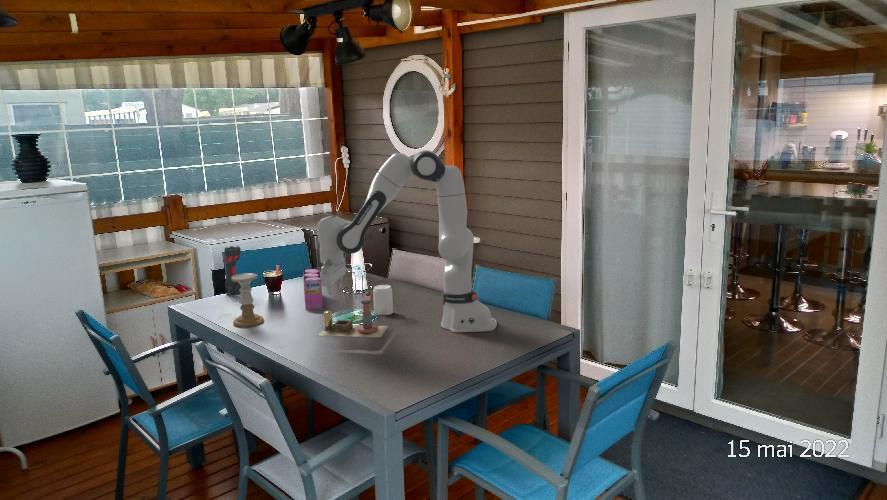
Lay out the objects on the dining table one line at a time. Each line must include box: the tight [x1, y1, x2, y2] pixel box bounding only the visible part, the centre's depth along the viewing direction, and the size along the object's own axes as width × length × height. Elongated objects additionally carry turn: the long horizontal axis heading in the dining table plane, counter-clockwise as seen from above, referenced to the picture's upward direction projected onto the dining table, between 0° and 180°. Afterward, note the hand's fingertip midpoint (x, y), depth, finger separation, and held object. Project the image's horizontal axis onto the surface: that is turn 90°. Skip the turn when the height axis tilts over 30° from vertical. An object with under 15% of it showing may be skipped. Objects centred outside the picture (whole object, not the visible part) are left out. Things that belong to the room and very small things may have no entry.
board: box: [317, 324, 390, 338], centre depth 251 cm, size 25×13×2 cm, turn 81°
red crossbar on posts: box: [357, 292, 379, 333], centre depth 253 cm, size 15×8×12 cm, turn 3°
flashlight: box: [224, 245, 242, 296], centre depth 312 cm, size 8×8×23 cm
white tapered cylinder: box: [372, 284, 394, 316], centre depth 274 cm, size 8×8×12 cm
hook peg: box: [323, 310, 334, 330], centre depth 253 cm, size 3×3×7 cm
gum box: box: [302, 267, 324, 311], centre depth 295 cm, size 24×8×14 cm, turn 12°
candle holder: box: [231, 272, 265, 328], centre depth 266 cm, size 12×12×20 cm
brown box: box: [333, 319, 354, 333], centre depth 252 cm, size 6×6×3 cm
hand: (335, 291), depth 253 cm, fingers open, 8 cm apart
